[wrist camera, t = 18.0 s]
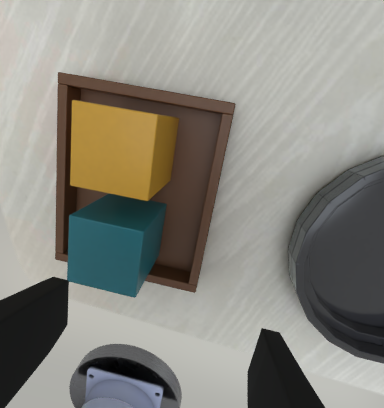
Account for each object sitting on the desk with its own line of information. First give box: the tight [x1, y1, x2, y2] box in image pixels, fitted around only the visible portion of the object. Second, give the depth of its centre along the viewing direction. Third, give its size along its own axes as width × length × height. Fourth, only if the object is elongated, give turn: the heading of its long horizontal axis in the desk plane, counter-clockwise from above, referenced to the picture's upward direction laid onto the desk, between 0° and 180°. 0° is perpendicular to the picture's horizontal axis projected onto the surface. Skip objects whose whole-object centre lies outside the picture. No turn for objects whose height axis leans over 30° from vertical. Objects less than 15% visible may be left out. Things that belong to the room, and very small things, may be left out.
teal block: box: [67, 193, 167, 297], centre depth 16 cm, size 4×4×5 cm
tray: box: [55, 72, 235, 293], centre depth 17 cm, size 12×10×2 cm
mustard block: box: [70, 100, 179, 201], centre depth 14 cm, size 4×4×5 cm
